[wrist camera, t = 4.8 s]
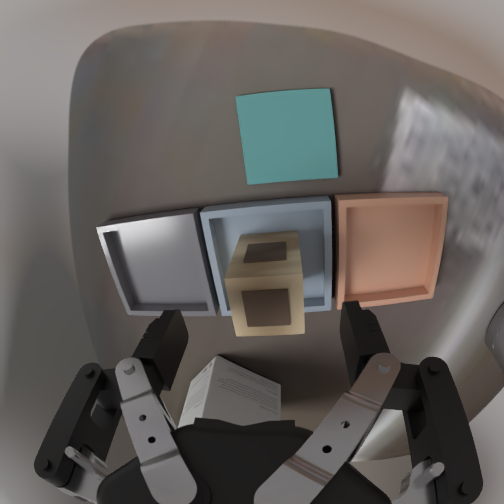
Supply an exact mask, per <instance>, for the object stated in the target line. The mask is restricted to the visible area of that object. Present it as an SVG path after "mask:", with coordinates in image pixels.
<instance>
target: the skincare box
mask: <svg viewBox="0 0 504 504" xmlns="http://www.w3.org/2000/svg"><path fill="white" fill-rule="evenodd" d="M195 417H197V418H208V419H219V420H222V421H226V422H229V423H233V424H237V425H241V426H246V425H251V424H256V423H261V422H266V421H280V420H281V385H280V384H278V383H276V382H273V381H271V380H269V379H266V378H264V377H262V376H260V375H258V374H255V373H253V372H251V371H249V370H247V369H245V368H243V367H240V366H238V365H236V364H234V363H232V362H230V361H228V360H226V359H224V358H222V357H220V356H218V355H217V356H216V357H215V358H214V359H213V360H212V361H211V362H210V363H209V364H208V365H207V366H206V367H205V368H204V369H203V370H202V371H201V372H200V373H199V374H198V375H197V376H196V377H195V378H194V379H193V380H192V381H191V384H190V387H189V391H188V394H187V398H186V401H185V405H184V408H183V412H182V415H181V419H180V422H179V426H178V428H179V427H182V426H185V425H189V424H194V420H195Z"/></svg>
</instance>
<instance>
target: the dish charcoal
mask: <svg viewBox="0 0 504 504" xmlns="http://www.w3.org/2000/svg"><path fill="white" fill-rule="evenodd" d="M96 228H97V231H98V235H99V238H100V241H101V244H102V247H103V250H104V253H105V256H106V259H107V262H108V265H109V268H110V270H111V273H112V276H113V279H114V281H115V284H116V286H117V289H118V292H119V294H120V297H121V299H122V302H123V304H124V306H125V309H126V311H127V313H128V315H146V316H161V314H162V313H163V311H164V310H165V309H179V310H180V311H181V313H182V316H216V315H217V312H218V309H219V306H220V304H219V300H218V296H217V291H216V287H215V283H214V278H213V274H212V269H211V265H210V260H209V255H208V251H207V246H206V241H205V236H204V231H203V226H202V221H201V216H200V210H199V207H196V208H188V209H180V210H173V211H166V212H159V213H152V214H145V215H139V216H133V217H126V218H120V219H114V220H109V221H105V222H104V223H102V224H101V225H99V226H98V227H96Z"/></svg>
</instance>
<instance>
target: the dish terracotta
mask: <svg viewBox="0 0 504 504" xmlns="http://www.w3.org/2000/svg"><path fill="white" fill-rule="evenodd" d="M334 201H335V302H336V306H337V310H339V309H342V302H344V301H354V300H358V301H359V304H360V307H369V306H377V305H386V304H394V303H401V302H409V301H416V300H422V299H429V298H433V294H434V289H435V285H436V281H437V276H438V271H439V266H440V260H441V255H442V249H443V242H444V235H445V228H446V219H447V209H448V197H447V196H445V195H443V194H442V193H440V192H390V193H361V194H340V195H334Z"/></svg>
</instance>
